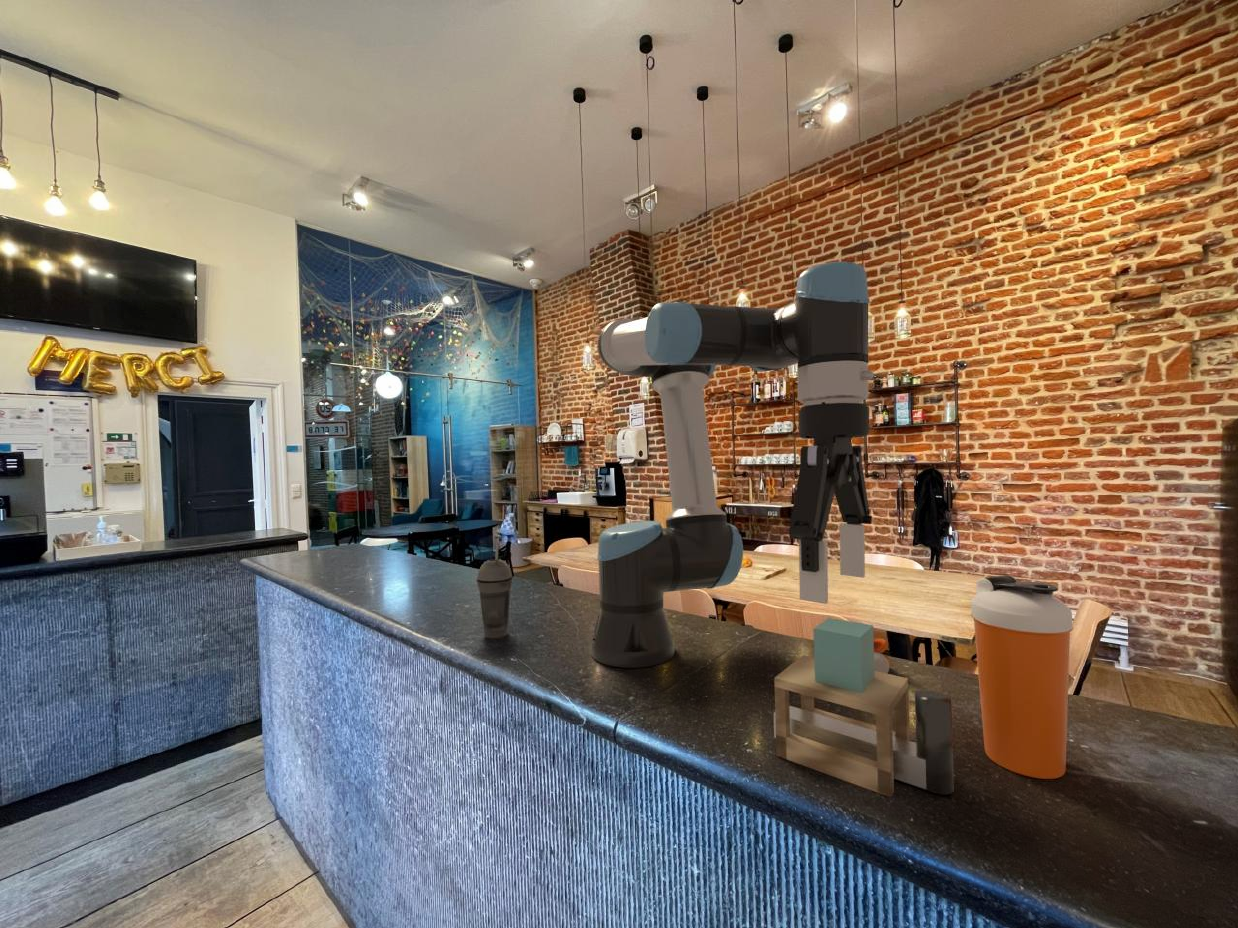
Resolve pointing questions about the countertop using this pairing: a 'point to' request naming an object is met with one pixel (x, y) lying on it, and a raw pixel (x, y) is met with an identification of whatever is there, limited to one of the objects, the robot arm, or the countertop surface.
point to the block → (844, 654)
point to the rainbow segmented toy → (881, 656)
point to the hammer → (894, 741)
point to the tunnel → (875, 699)
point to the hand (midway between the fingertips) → (834, 587)
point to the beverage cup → (495, 595)
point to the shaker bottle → (1023, 674)
